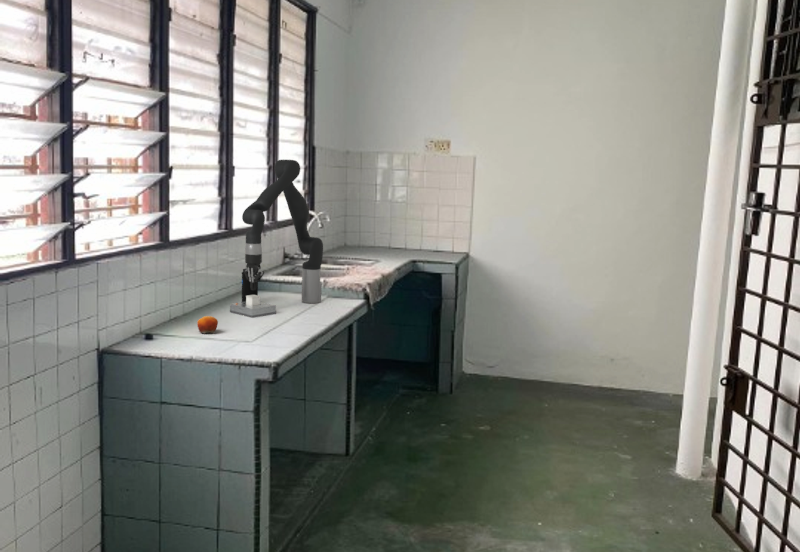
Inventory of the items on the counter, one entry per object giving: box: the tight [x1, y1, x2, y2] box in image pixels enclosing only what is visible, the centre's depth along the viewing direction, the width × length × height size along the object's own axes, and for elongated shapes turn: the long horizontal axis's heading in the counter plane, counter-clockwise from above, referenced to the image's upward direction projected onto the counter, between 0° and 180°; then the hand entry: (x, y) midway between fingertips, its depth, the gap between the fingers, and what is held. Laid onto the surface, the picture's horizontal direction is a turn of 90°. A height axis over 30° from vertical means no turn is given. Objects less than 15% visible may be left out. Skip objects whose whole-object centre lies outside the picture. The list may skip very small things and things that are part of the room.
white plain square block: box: [246, 295, 261, 306], centre depth 335 cm, size 4×4×7 cm
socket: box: [229, 301, 277, 319], centre depth 335 cm, size 14×16×5 cm
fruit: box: [196, 315, 219, 335], centre depth 293 cm, size 8×8×8 cm
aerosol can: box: [241, 271, 259, 302], centre depth 354 cm, size 8×8×20 cm
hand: (253, 289), depth 334 cm, fingers closed
